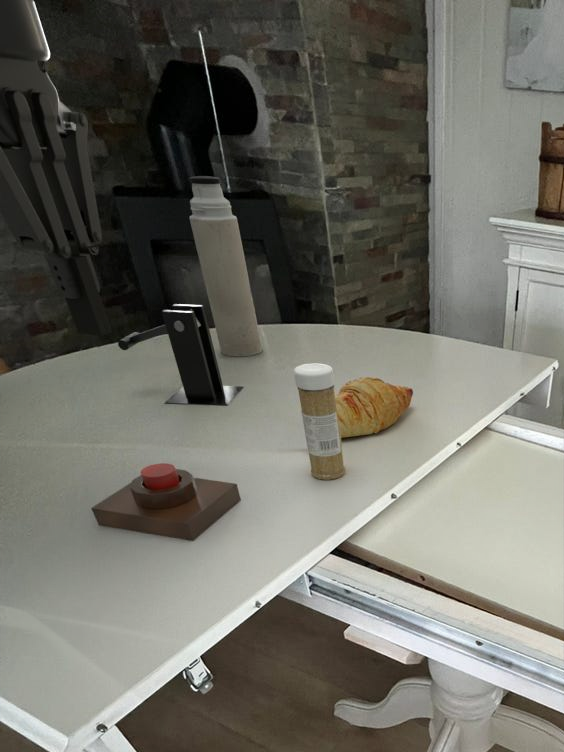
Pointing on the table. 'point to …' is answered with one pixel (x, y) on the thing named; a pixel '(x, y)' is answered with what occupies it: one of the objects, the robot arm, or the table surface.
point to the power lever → (145, 335)
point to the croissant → (369, 406)
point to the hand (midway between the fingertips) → (94, 332)
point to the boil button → (160, 476)
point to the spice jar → (320, 419)
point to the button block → (168, 507)
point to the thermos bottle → (224, 268)
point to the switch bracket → (196, 359)
